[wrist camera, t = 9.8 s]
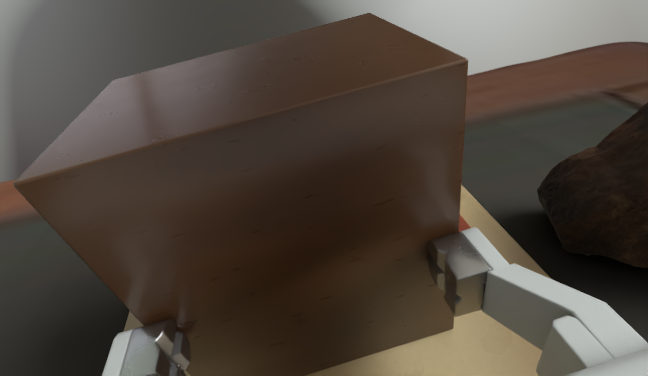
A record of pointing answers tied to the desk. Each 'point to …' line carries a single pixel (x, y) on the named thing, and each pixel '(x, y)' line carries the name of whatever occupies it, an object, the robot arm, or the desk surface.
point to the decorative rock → (604, 196)
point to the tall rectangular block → (271, 195)
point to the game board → (464, 339)
